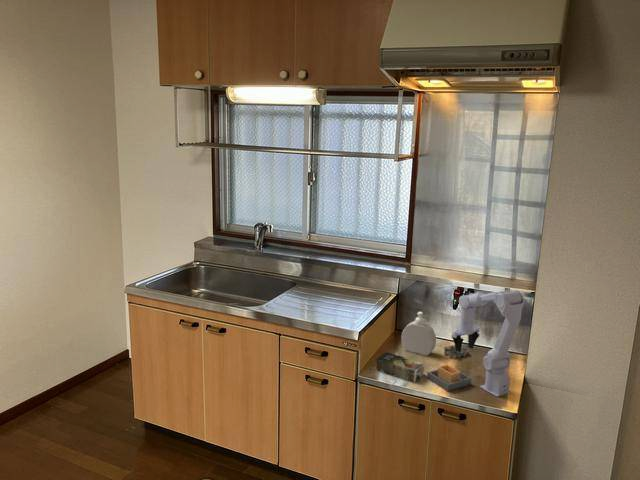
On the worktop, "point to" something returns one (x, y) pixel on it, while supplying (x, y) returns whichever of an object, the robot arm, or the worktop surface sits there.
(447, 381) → the orange crate
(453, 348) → the egg carton
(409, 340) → the soap bottle
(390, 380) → the worktop surface
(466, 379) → the charcoal bin
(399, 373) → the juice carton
